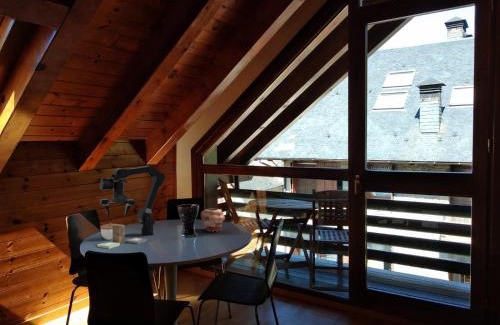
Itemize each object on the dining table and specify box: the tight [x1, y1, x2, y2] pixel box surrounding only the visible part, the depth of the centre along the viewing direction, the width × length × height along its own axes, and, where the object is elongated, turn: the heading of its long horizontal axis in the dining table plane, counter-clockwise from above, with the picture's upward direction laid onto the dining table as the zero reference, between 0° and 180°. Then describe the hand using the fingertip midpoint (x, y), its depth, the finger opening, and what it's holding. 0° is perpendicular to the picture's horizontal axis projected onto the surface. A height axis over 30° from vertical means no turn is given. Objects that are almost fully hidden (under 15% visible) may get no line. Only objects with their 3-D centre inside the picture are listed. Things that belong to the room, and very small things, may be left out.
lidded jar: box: [99, 222, 117, 241], centre depth 229 cm, size 11×11×9 cm
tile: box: [125, 237, 148, 245], centre depth 221 cm, size 8×9×1 cm
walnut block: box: [112, 223, 126, 245], centre depth 219 cm, size 4×5×10 cm
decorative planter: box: [200, 207, 226, 233], centre depth 250 cm, size 20×12×14 cm, turn 57°
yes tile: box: [96, 241, 121, 250], centre depth 212 cm, size 8×9×1 cm
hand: (116, 216), depth 227 cm, fingers open, 9 cm apart
